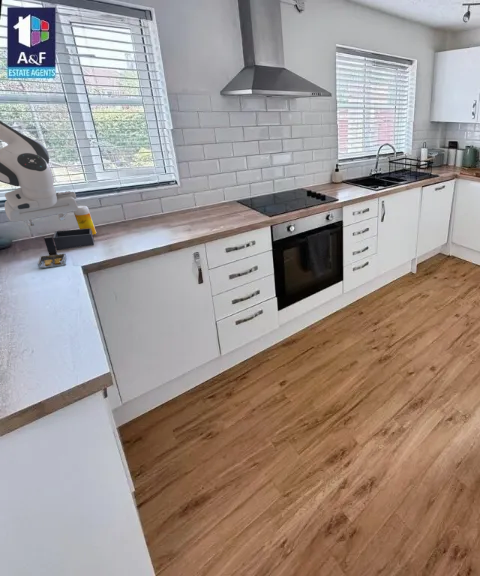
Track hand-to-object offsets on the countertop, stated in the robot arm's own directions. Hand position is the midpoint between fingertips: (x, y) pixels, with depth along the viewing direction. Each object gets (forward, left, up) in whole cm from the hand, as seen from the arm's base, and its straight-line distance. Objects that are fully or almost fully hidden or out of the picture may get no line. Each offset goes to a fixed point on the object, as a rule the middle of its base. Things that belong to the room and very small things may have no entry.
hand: (46, 221), depth 141 cm
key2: (-1, +3, -17) cm, 17 cm away
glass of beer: (+10, +46, -17) cm, 50 cm away
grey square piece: (-2, +4, -17) cm, 18 cm away
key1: (-4, +2, -17) cm, 17 cm away
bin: (+5, +28, -17) cm, 33 cm away
